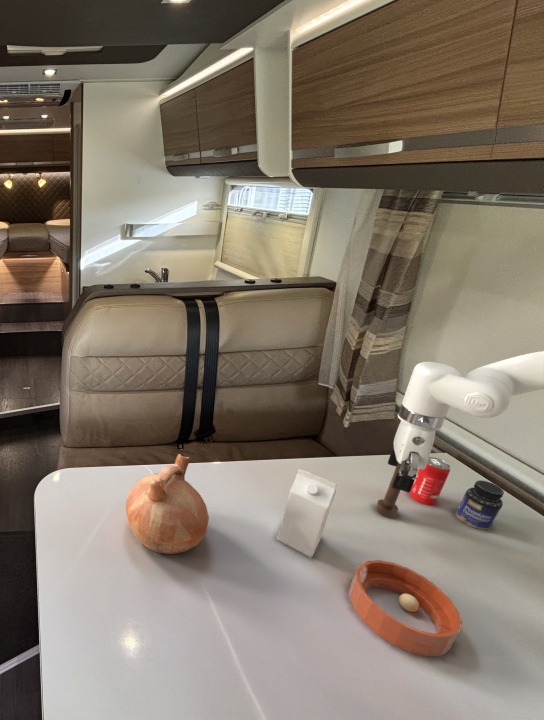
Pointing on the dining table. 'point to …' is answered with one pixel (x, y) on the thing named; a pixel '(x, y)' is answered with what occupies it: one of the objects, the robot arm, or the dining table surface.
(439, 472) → the beverage can
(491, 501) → the pill bottle
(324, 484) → the milk carton
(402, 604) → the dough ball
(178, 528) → the jug
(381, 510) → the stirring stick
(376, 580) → the ring
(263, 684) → the dining table surface
